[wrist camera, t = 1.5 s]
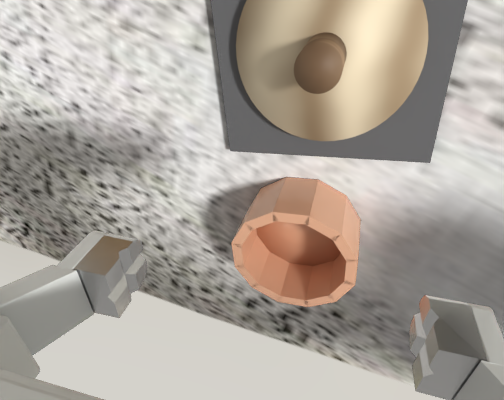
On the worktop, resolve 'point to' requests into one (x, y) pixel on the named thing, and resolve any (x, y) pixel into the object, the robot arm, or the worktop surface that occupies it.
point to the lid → (330, 62)
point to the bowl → (299, 242)
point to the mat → (364, 145)
